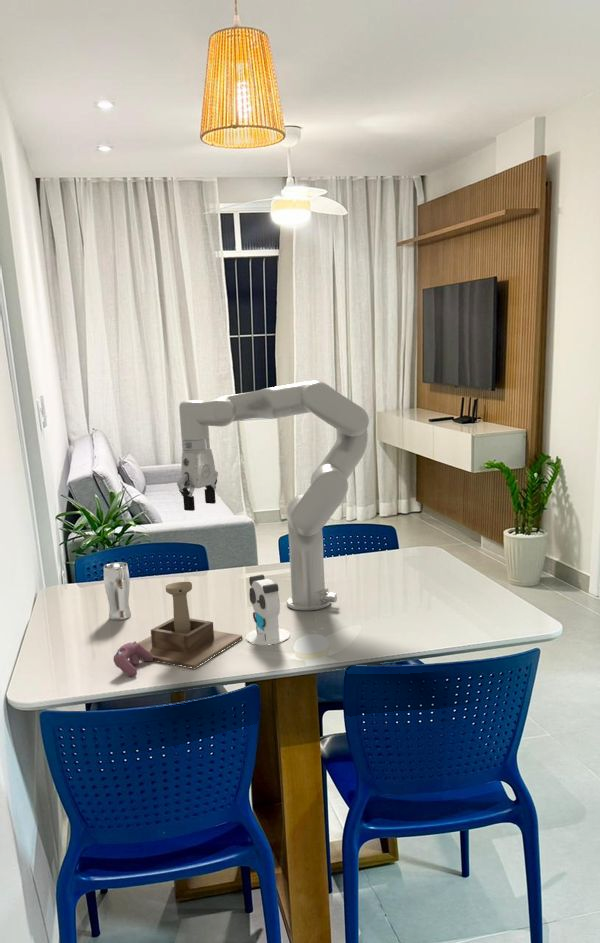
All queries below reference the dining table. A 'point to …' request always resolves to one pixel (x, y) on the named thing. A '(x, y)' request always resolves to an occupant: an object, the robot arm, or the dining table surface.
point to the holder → (187, 643)
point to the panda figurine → (265, 612)
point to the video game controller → (131, 657)
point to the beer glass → (117, 590)
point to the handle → (180, 605)
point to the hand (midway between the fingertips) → (200, 506)
